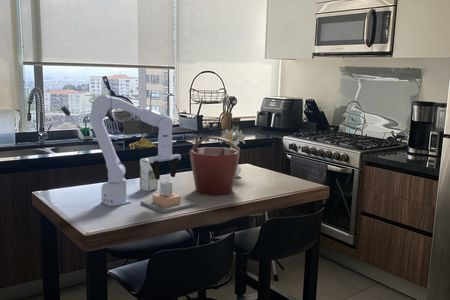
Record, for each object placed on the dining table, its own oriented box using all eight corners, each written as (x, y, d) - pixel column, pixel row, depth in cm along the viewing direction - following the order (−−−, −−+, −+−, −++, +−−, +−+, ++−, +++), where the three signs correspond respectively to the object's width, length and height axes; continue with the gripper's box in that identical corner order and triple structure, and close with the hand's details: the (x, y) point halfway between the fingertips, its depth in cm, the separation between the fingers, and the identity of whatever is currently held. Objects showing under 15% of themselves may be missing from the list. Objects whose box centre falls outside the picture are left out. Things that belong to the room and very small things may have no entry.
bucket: (249, 193, 204) (251, 138, 200) (212, 201, 189) (213, 142, 185) (215, 183, 222) (215, 132, 218) (178, 189, 207) (178, 135, 203)
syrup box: (149, 187, 210) (149, 156, 208) (158, 189, 207) (157, 158, 204) (139, 189, 206) (139, 158, 204) (148, 191, 202) (148, 160, 200)
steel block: (166, 204, 179) (166, 184, 178) (160, 202, 182) (160, 182, 181) (172, 202, 181) (172, 183, 180) (166, 200, 184) (166, 181, 183)
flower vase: (242, 172, 247) (243, 127, 243) (245, 180, 229) (247, 131, 225) (218, 172, 247) (219, 126, 243) (220, 179, 229) (221, 130, 225)
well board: (164, 213, 171) (164, 202, 170) (140, 204, 182) (140, 194, 182) (196, 205, 182) (196, 195, 181) (172, 197, 193) (172, 188, 193)
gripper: (155, 148, 175) (155, 182, 177) (185, 145, 185) (185, 177, 187) (145, 146, 180) (146, 179, 183) (175, 143, 190) (175, 174, 192)
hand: (165, 178), depth 185 cm, fingers open, 7 cm apart
